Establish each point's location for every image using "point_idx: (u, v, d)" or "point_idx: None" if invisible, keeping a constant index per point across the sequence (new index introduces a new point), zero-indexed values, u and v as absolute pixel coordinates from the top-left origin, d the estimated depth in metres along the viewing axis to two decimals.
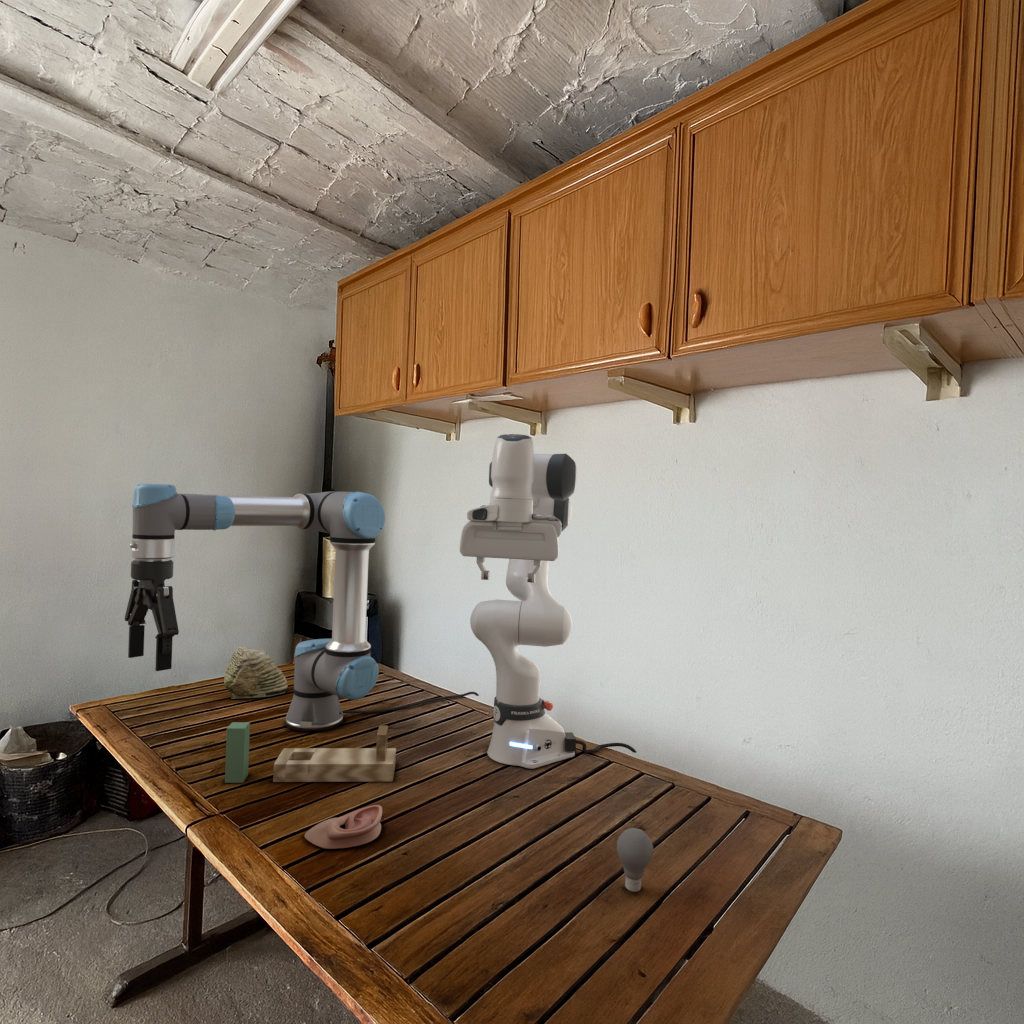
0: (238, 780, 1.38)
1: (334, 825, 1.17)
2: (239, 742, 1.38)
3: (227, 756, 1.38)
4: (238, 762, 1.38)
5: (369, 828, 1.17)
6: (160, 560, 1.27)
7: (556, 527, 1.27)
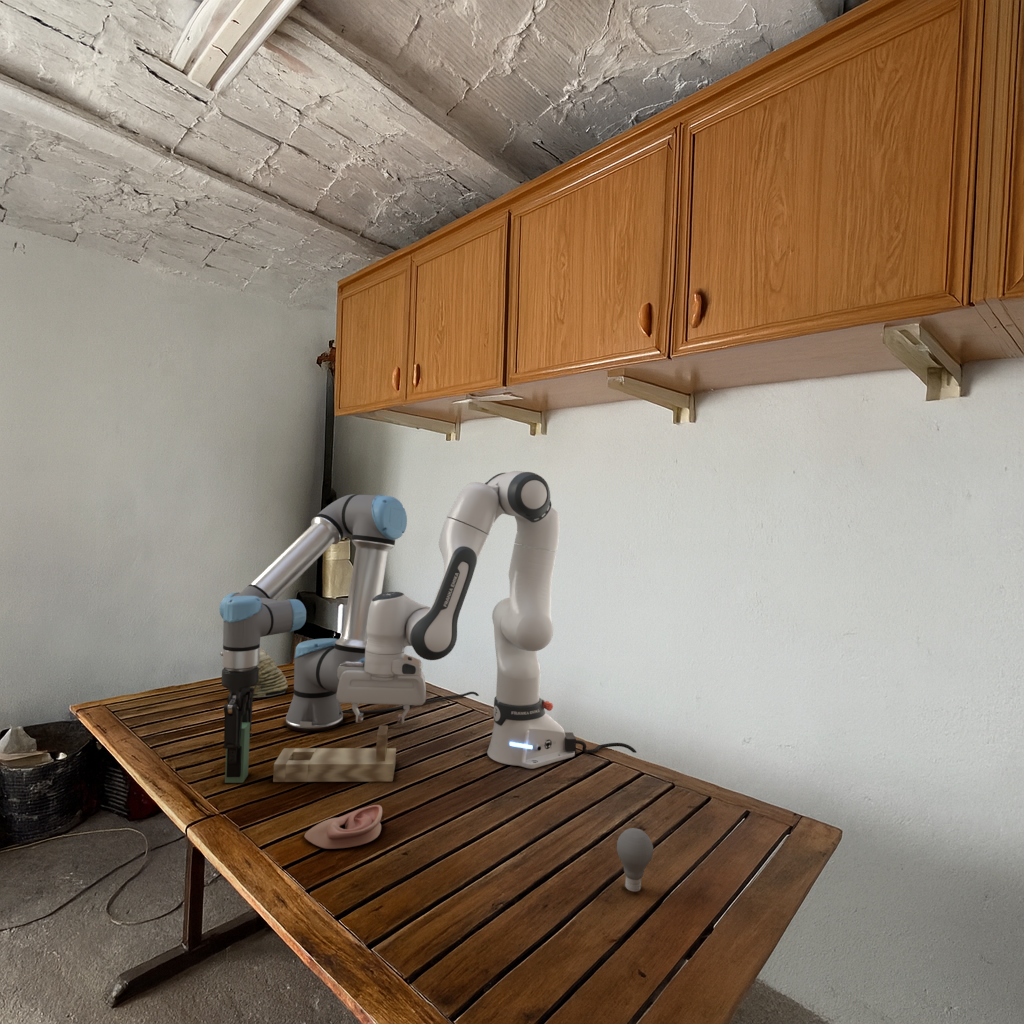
0: (238, 780, 1.38)
1: (334, 825, 1.17)
2: None
3: None
4: None
5: (369, 828, 1.17)
6: (237, 670, 1.37)
7: None
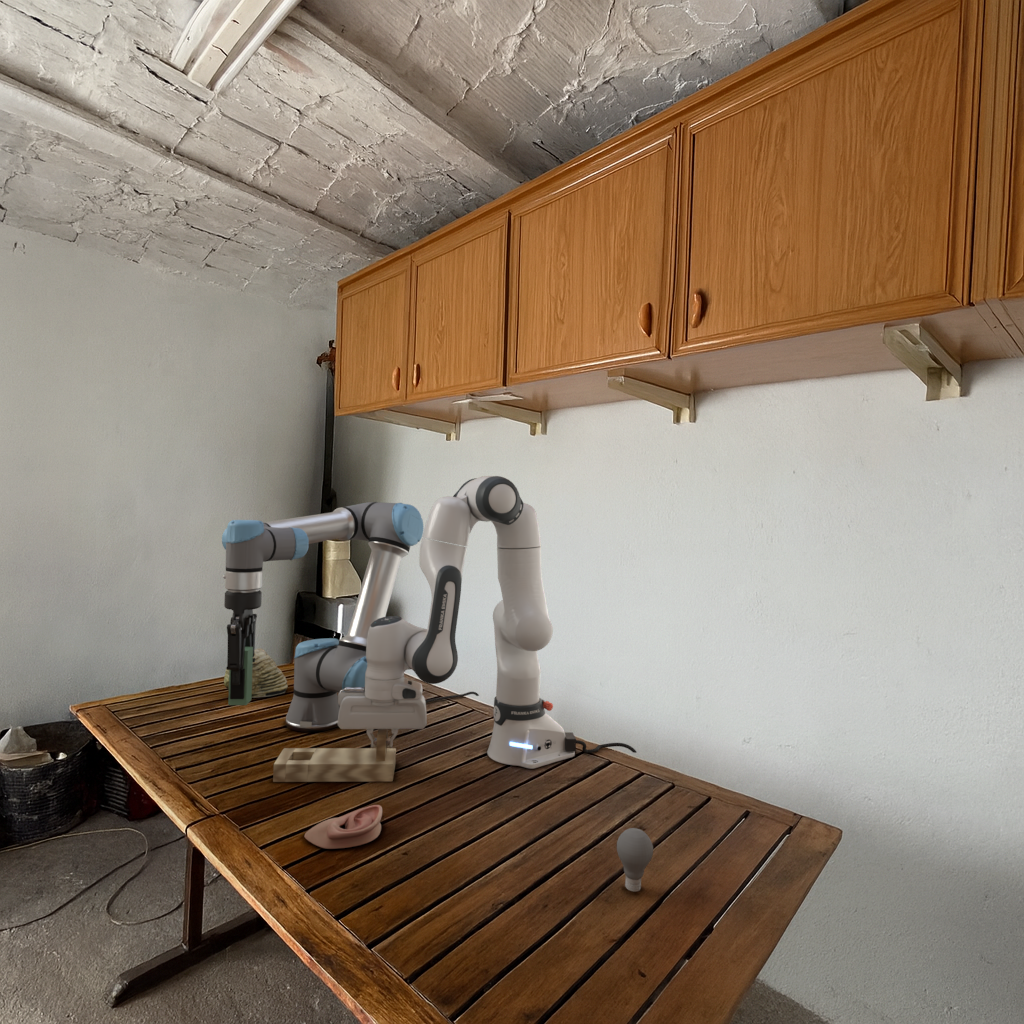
0: (242, 702, 1.38)
1: (334, 825, 1.17)
2: None
3: (230, 678, 1.38)
4: None
5: (369, 828, 1.17)
6: (240, 592, 1.36)
7: None
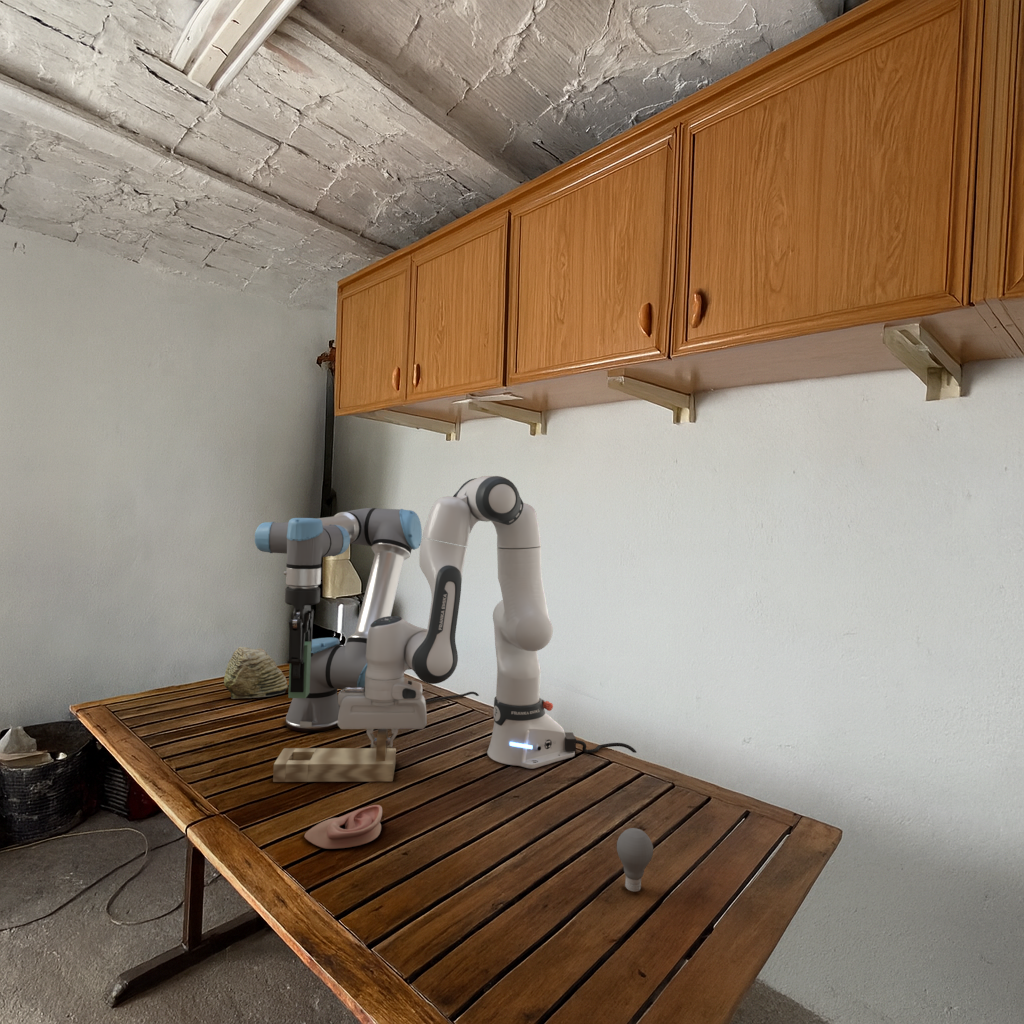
0: (301, 695, 1.42)
1: (334, 825, 1.17)
2: None
3: (290, 672, 1.42)
4: None
5: (369, 828, 1.17)
6: (300, 587, 1.40)
7: None
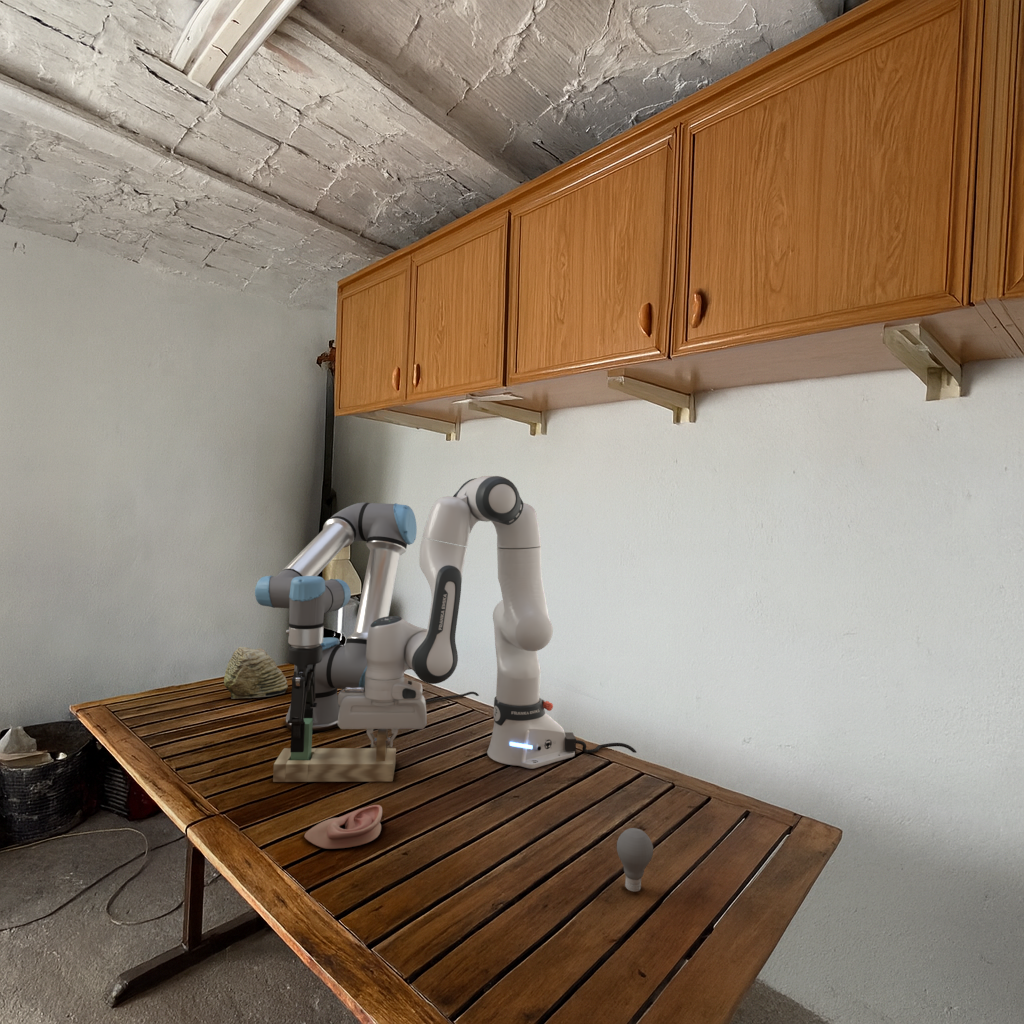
0: None
1: (334, 825, 1.17)
2: (304, 737, 1.43)
3: None
4: (303, 757, 1.43)
5: (369, 828, 1.17)
6: (303, 647, 1.41)
7: None
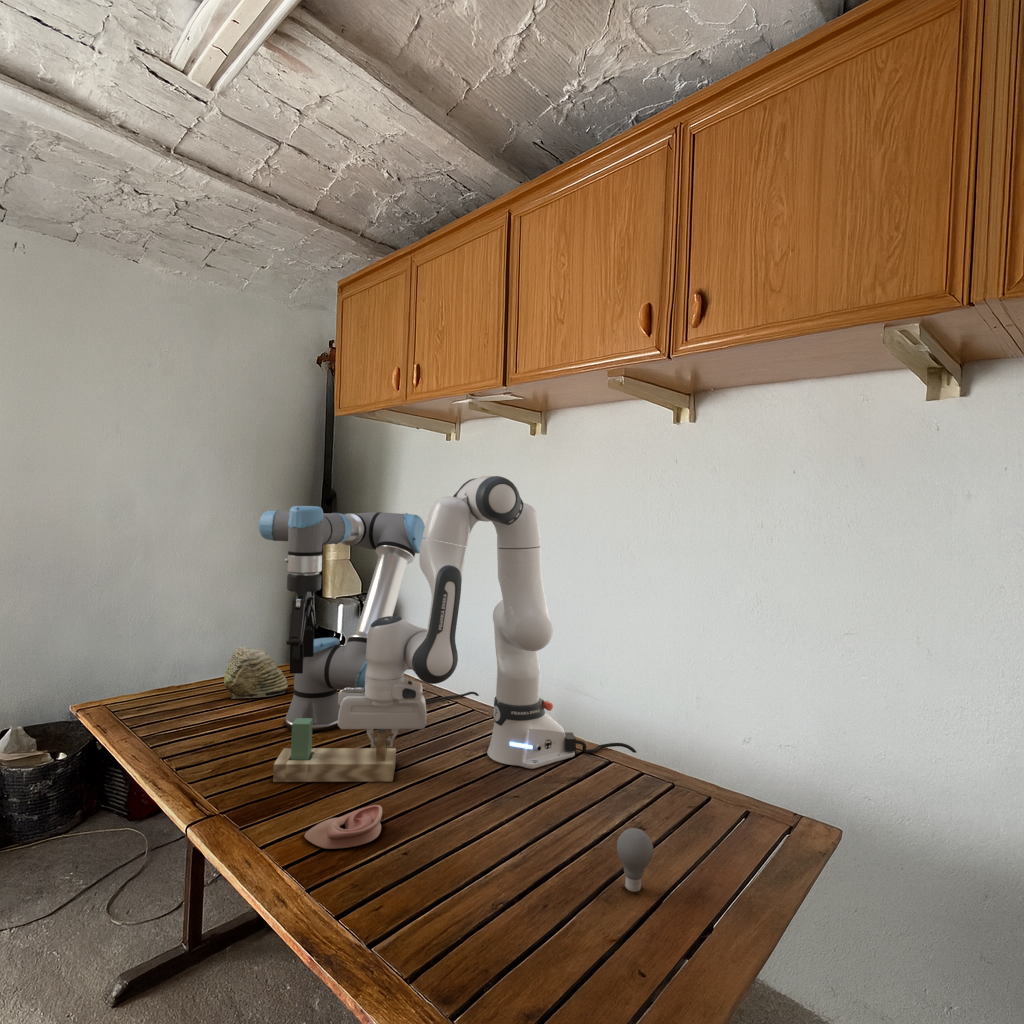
0: None
1: (334, 825, 1.17)
2: (304, 737, 1.43)
3: (292, 751, 1.42)
4: (303, 757, 1.43)
5: (369, 828, 1.17)
6: (303, 574, 1.43)
7: None
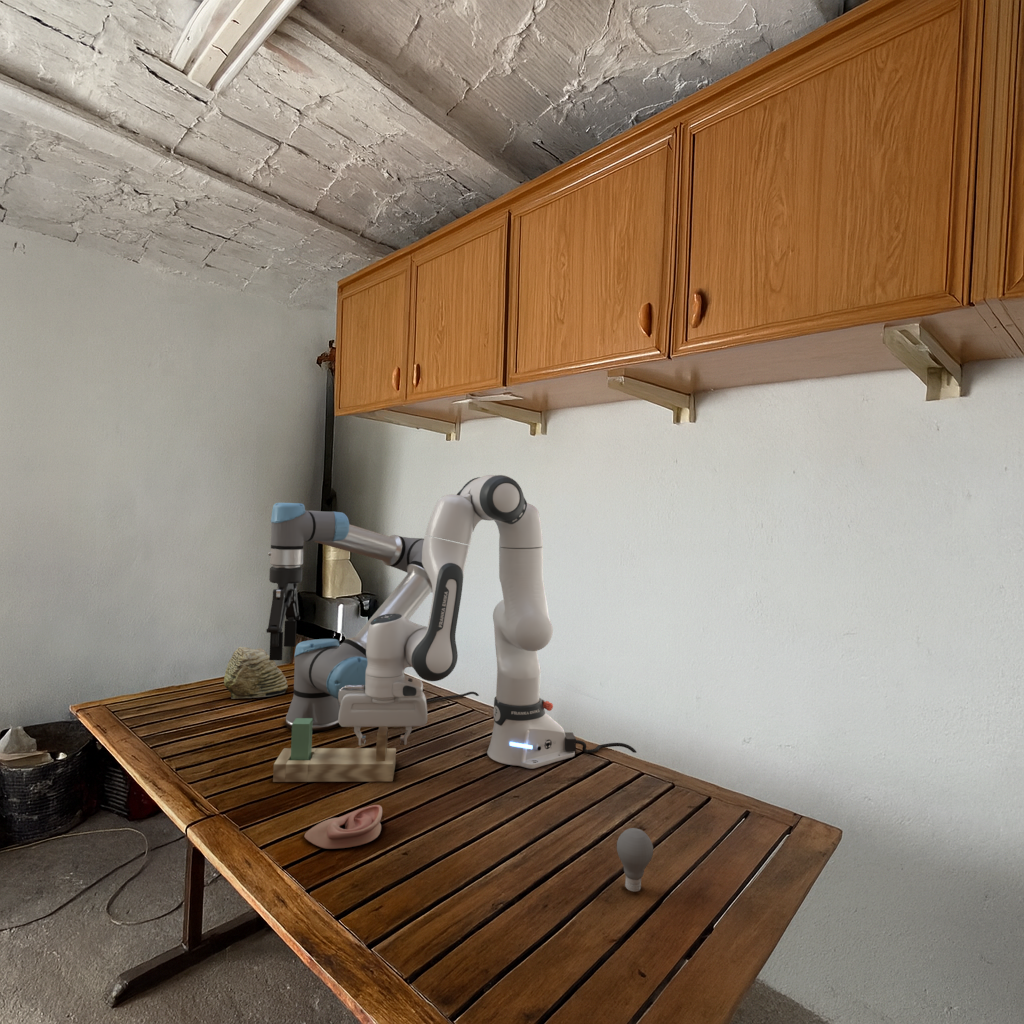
0: None
1: (334, 825, 1.17)
2: (304, 737, 1.43)
3: (292, 751, 1.42)
4: (303, 757, 1.43)
5: (369, 828, 1.17)
6: (284, 567, 1.51)
7: None
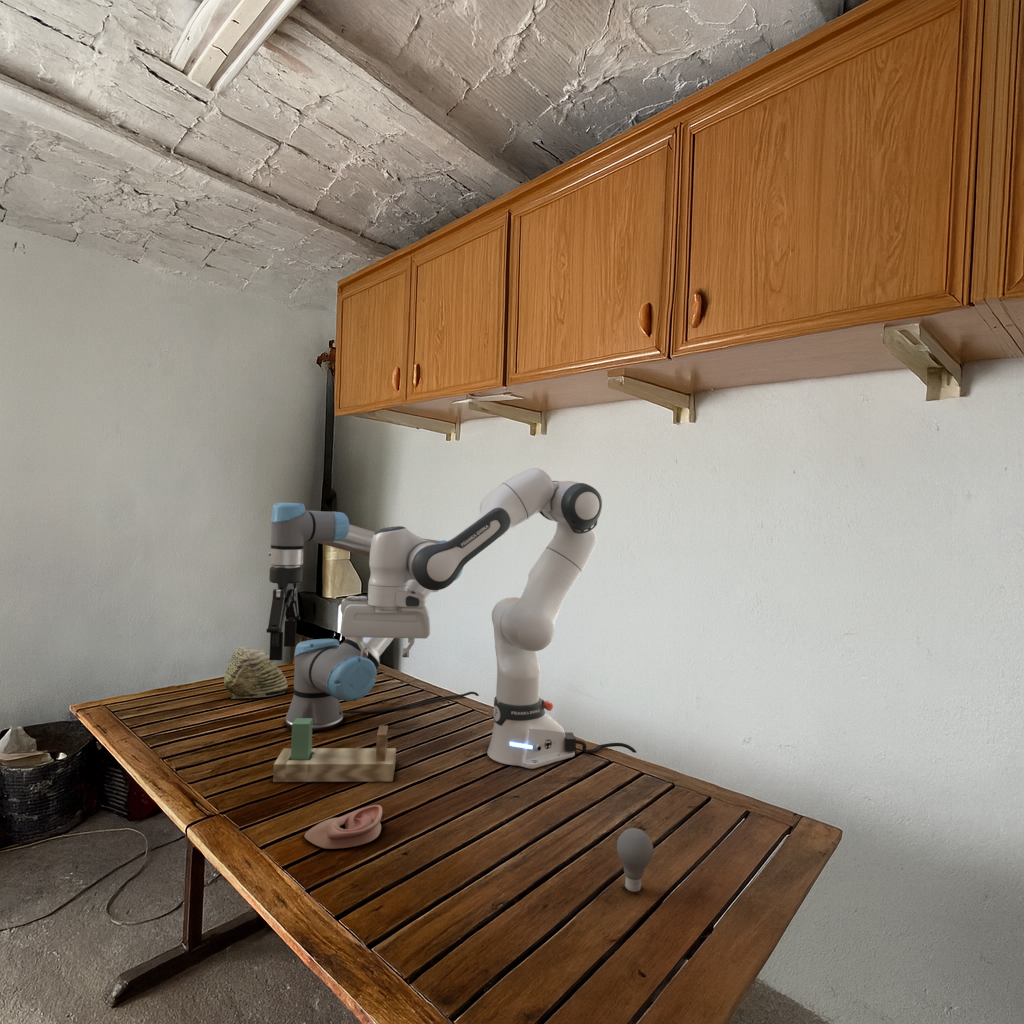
0: None
1: (334, 825, 1.17)
2: (304, 737, 1.43)
3: (292, 751, 1.42)
4: (303, 757, 1.43)
5: (369, 828, 1.17)
6: (284, 567, 1.51)
7: None
